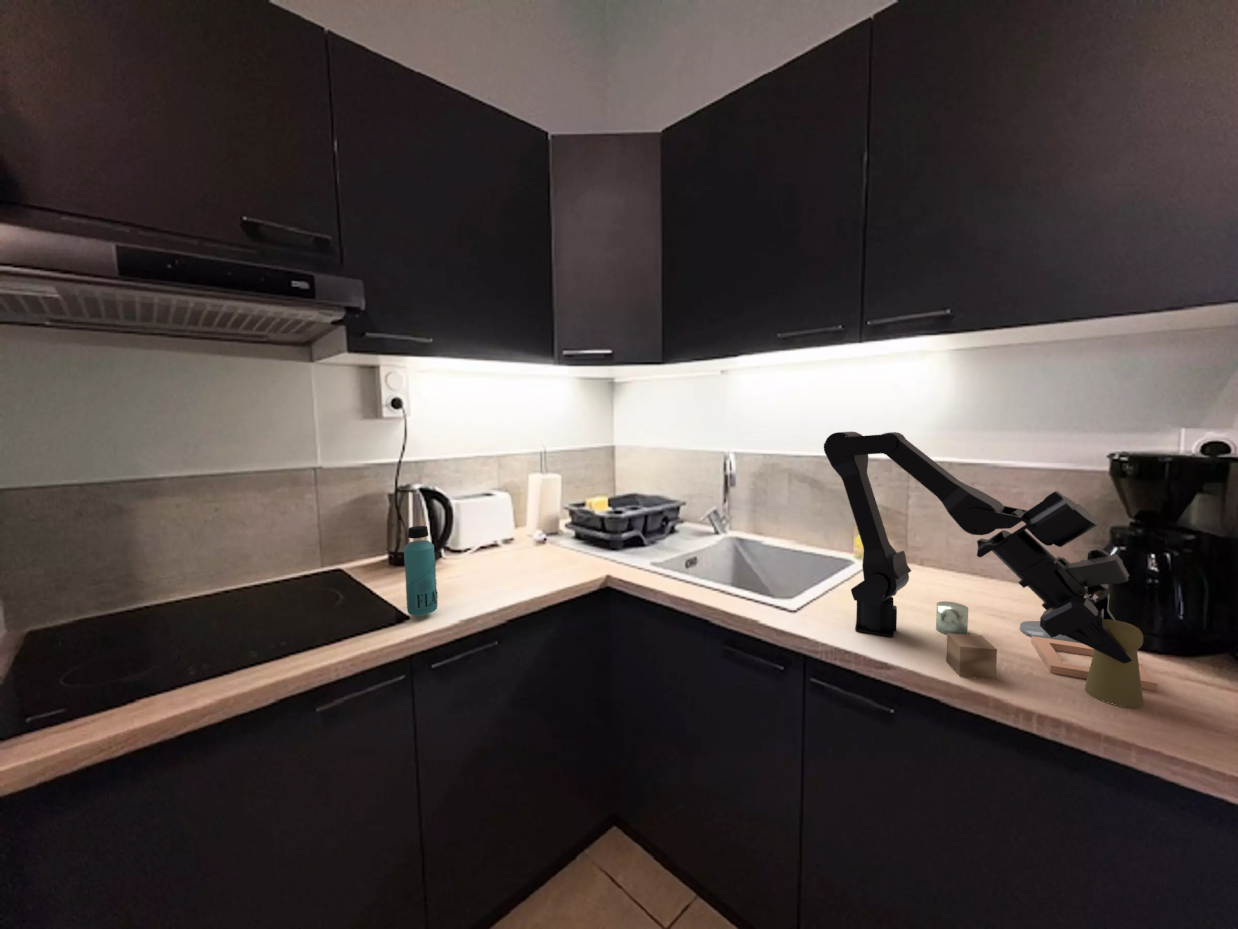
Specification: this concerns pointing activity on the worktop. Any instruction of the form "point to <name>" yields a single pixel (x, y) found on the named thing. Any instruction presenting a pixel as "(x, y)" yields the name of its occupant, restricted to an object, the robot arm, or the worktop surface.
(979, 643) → the walnut block
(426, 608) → the beverage bottle
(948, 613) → the sage tin
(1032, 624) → the slate coaster
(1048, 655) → the hole frame
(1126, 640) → the olive pepper mill
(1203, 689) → the worktop surface
